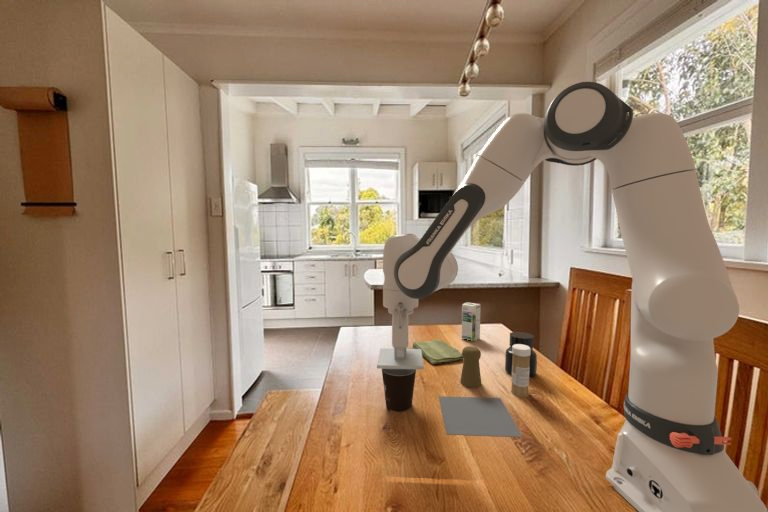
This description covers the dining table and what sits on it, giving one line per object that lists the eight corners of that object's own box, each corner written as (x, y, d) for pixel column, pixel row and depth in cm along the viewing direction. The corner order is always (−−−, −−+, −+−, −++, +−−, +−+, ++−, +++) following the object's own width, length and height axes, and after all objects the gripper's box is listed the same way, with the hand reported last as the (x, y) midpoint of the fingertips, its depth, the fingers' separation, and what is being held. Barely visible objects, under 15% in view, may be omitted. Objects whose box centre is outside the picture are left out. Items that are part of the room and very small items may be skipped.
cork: (482, 391, 90) (483, 352, 89) (460, 389, 91) (460, 350, 90) (480, 381, 96) (481, 344, 95) (459, 379, 97) (460, 343, 96)
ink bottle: (542, 374, 100) (544, 336, 99) (528, 382, 95) (530, 342, 94) (512, 364, 108) (514, 328, 107) (498, 371, 102) (499, 334, 101)
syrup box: (460, 339, 132) (461, 304, 131) (467, 335, 137) (468, 301, 135) (474, 342, 128) (474, 306, 127) (480, 338, 133) (481, 303, 132)
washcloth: (432, 367, 106) (432, 358, 106) (410, 349, 123) (410, 340, 123) (466, 362, 110) (466, 352, 110) (440, 344, 127) (441, 336, 127)
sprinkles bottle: (511, 389, 90) (512, 342, 89) (529, 392, 89) (530, 344, 88) (510, 397, 86) (511, 348, 85) (529, 400, 84) (530, 350, 83)
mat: (522, 439, 69) (522, 437, 69) (446, 437, 70) (446, 434, 70) (500, 400, 85) (500, 398, 85) (438, 398, 86) (438, 396, 86)
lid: (423, 369, 77) (423, 351, 76) (377, 368, 77) (376, 350, 77) (421, 352, 88) (421, 336, 87) (380, 351, 88) (380, 335, 88)
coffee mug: (411, 419, 77) (411, 378, 76) (376, 412, 79) (376, 372, 79) (421, 395, 88) (422, 359, 87) (391, 390, 90) (391, 355, 90)
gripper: (414, 309, 71) (414, 370, 72) (412, 291, 91) (412, 339, 92) (385, 308, 71) (385, 370, 72) (389, 291, 91) (389, 339, 93)
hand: (400, 352), depth 82 cm, fingers closed on lid, 3 cm apart
